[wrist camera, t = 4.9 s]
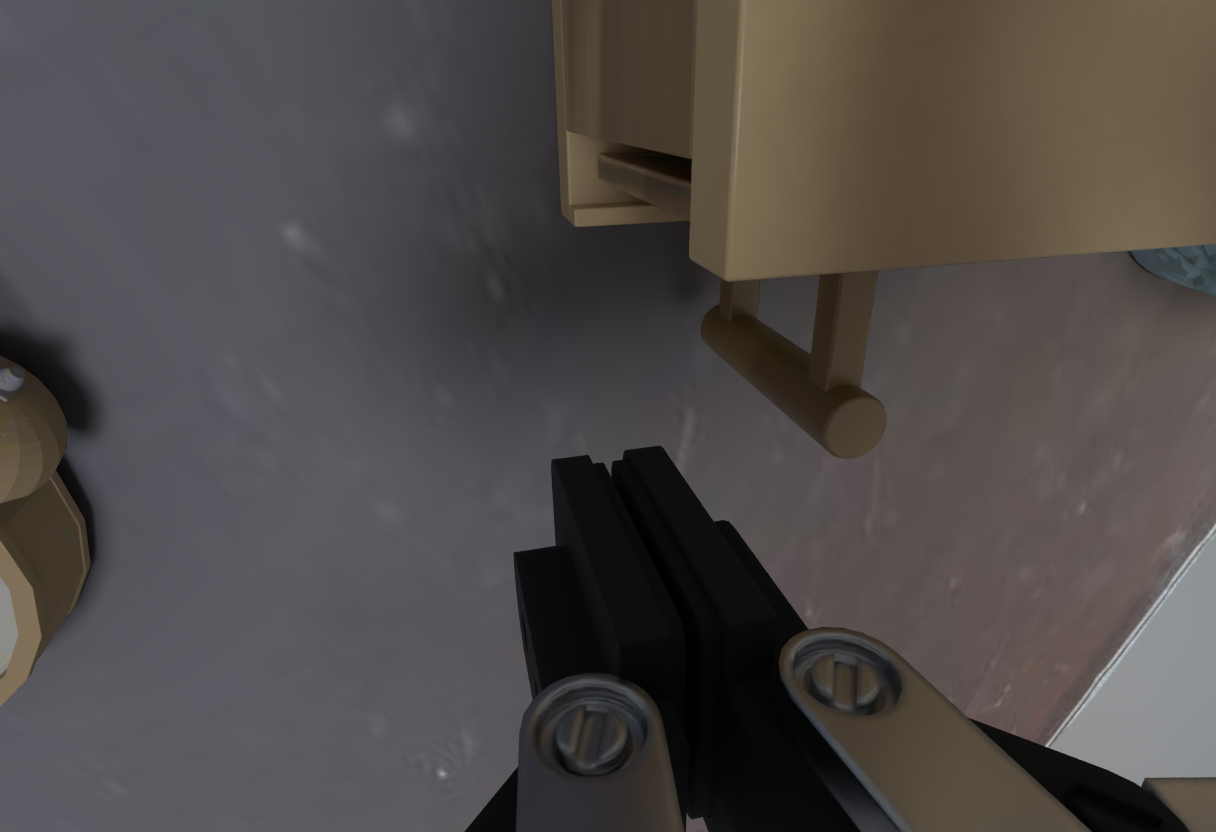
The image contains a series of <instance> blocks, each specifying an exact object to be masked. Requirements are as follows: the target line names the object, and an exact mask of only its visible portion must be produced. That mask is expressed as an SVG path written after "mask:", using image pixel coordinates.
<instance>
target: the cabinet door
mask: <svg viewBox="0 0 1216 832" xmlns="http://www.w3.org/2000/svg"><path fill="white" fill-rule="evenodd" d="M598 167H599V180H600V181H603V182H605V183H607V184H610V185H612V186H614V187H616V188H618V189H620V190H622V191H625V192H627V193H629V194H631V195H633V196H635V197H637V198H640V199H642V200H644V201H646V202H648V203H650V204H652V205H655V206H657V207H659V208H661V209H663V210H665V211H668V212H670V213H672V214H674V215H676V216H678V217H680V218H683V219H685V220H687V221H689V222H690V210H691V179H692V159H688V158H684V157H679V156H675V155H670V154H666V153H661V152H657V151H656V152H628V153H600V154H599V155H598ZM877 272H878V270H874V271H861V272H848V273H835V274H822V275H820V280H819V289H818V298H817V307H816V315H815V324H814V333H813V342H812V350H811V355H810V354H809V353H807V352H806V351H804V350H803V349H801V348H800V347H798V346H797V345H795V344H794V343H792V342H791V341H789V340H788V339H786V338H785V337H783V336H782V335H780V334H779V333H777V332H776V331H774V330H773V329H771V328H770V327H768V326H767V325H765V324H764V323H762V322H761V321H759V320H758V319H757V313H758V300H759V287H760V279H758V280H745V281H732V282H728V281H725V280H723V279H722V278H721V289H720V304H719V305H717V306H715V307H713V308H712V309H710V310H709V311H708V312H707V314H706V315H705V317H704V319H703V321H702V324H701V335H702V338H703V341H704V342H705V343H706V344H707V345H708V346H709V347H710V348H711V349H712V350H713V351H714V352H716V353H717V354H718V355H719V356H720V357H721V358H722V359H723V360H725V361H726V362H727V363H728V364H729V365H730V366H731V367H733V368H734V369H735V370H736V371H737V372H738V373H739V374H740V375H742V376H743V377H744V378H745V379H746V380H747V381H748V382H750V383H751V384H752V385H753V386H754V387H755V388H756V389H757V390H759V391H760V392H761V393H762V394H763V395H764V396H765V397H767V398H768V399H769V400H770V401H771V402H772V403H773V404H774V405H776V406H777V407H778V408H779V409H780V410H781V411H782V412H784V413H785V414H786V415H787V416H788V417H789V418H790V419H792V420H793V421H794V422H795V423H796V424H797V425H798V426H799V427H801V428H802V429H803V430H804V431H805V432H806V433H807V434H809V435H810V436H811V437H812V438H813V439H814V440H815V441H816V442H818V443H819V444H820V445H821V446H822V447H823V448H824V449H826V450H827V451H828V452H829V453H830V454H831V455H833V456H835V457H838V458H844V459H850V458H856V457H859V456H861V455H863V454H865V453H867V452H868V451H870V450H871V449H872V448H873V447H874V446H875V445H876V444H877V443H878V442H879V440H880V439H881V437H882V435H883V433H884V431H885V428H886V422H887V417H886V412H885V409H884V407H883V405H882V403H881V402H880V401H879V400H878V399H876V398H875V397H873V396H872V395H870V394H869V393H867V392H866V391H864V390H863V389H861V388H860V386H861V380H862V373H863V366H864V359H865V353H866V346H867V339H868V333H869V326H870V319H871V312H872V306H873V299H874V292H875V286H876V279H877Z"/></svg>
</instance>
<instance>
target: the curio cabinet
mask: <svg viewBox="0 0 1216 832" xmlns="http://www.w3.org/2000/svg"><path fill="white" fill-rule="evenodd" d="M552 22H553V44H554V67H555V89H556V111H557V134H558V156H559V179H560V201H561V214H562V215H563V216H564V217H565V218H566V219H567V220H569V221H570V223H571V224H573V225H574V226H575V227H589V226H606V225H623V224H641V223H658V222H675V221H687V220H685V219H683V218H680V217H678V216H676V215H674V214H672V213H670V212H668V211H665V210H663V209H661V208H659V207H657V206H655V205H652V204H650V203H648V202H646V201H644V200H642V199H640V198H637V197H635V196H633V195H631V194H629V193H627V192H625V191H622V190H620V189H618V188H616V187H614V186H612V185H610V184H607V183H605V182H603V181H600V180H599V167H598V155H599V154H600V153H628V152H656V151H657V152H661V153H666V154H670V155H675V156H679V157H684V158H688V159H692V179H691V210H690V241H689V257H690V259H691V260H692V261H694V262H695V263H697V264H699V265H700V266H702V267H704V268H705V269H707V270H709V271H710V272H712V273H714V274H715V275H717V276H718V277H720V278H722V279H723V280H725V281H728V282H732V281H745V280H758V279H770V278H783V277H796V276H809V275H822V274H835V273H848V272H861V271H874V270H887V269H900V268H913V267H926V266H938V265H951V264H964V263H977V262H990V261H1003V260H1016V259H1029V258H1042V257H1055V256H1068V255H1081V254H1093V253H1106V252H1119V251H1132V250H1145V249H1158V248H1171V247H1184V246H1197V245H1210V244H1216V0H552Z"/></svg>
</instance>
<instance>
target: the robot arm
mask: <svg viewBox="0 0 1216 832" xmlns="http://www.w3.org/2000/svg"><path fill="white" fill-rule="evenodd" d="M551 474H552V491H553V507H554V524H555V540H556V546H553V547H546V548H540V549H533V550H527V551H520V552H514V569H515V580H516V591H517V601H518V610H519V619H520V626H521V634H522V640H523V647H524V653H525V659H526V665H527V670H528V676H529V682H530V687H531V693H532V698H533V700H532V702H531V704H530V705H529V707H528V708H527V710H526V711H525V713H524V715H523V719H522V724H521V728H520V733H519V760H518V767H517V769H516V770H515V771H514V772H513V773H512V775H511V776H510V777H509V778H508V779H507V781H506V782H505V783H504V784H503V786H502V787H501V788H500V789H499V790H498V792H497V793H496V794H495V795H494V796H493V798H492V799H491V800H490V801H489V803H488V804H487V805H486V806H485V807H484V809H483V810H482V811H481V812H480V814H479V815H478V816H477V817H476V818H475V820H474V821H473V822H472V823H471V824H470V826H469V827H468V828H467V829H466V831H465V832H686V813H687V814H688V815H689V817H690V818H691V819H696V818H700V817H703V819H704V821H705V824H706V826H707V829H708V831H709V832H1216V777H1211V778H1210V777H1208V778H1145V779H1144V782H1143V784H1142V786H1141V787H1140V786H1138V785H1137V784H1135V783H1134V782H1131V781H1129V780H1127V779H1125V778H1123V777H1121V776H1119V775H1117V774H1115V773H1112V772H1110V771H1108V770H1106V769H1103V768H1100V767H1098V766H1095V765H1092V764H1090V763H1087V762H1085V761H1082V760H1079V759H1077V758H1074V757H1071V756H1068V755H1066V754H1063V753H1060V752H1058V751H1055V750H1053V749H1050V748H1047V747H1045V746H1042V745H1039V744H1037V743H1034V742H1031V741H1029V740H1026V739H1023V738H1021V737H1018V736H1015V735H1013V734H1010V733H1007V732H1005V731H1002V730H999V729H997V728H994V727H991V726H989V725H986V724H983V723H981V722H978V721H975V720H973V719H970V718H968V717H967V716H965V715H964V714H963V713H962V712H961V711H960V710H959V709H958V708H957V707H956V706H955V705H953V704H952V703H951V702H950V701H949V700H948V699H947V698H946V697H945V696H944V695H943V694H941V693H940V692H939V691H938V690H937V689H936V688H935V687H934V686H933V685H932V684H931V683H929V682H928V681H927V680H926V679H925V678H924V677H923V676H922V675H921V674H920V673H919V672H918V671H916V670H915V669H914V668H913V667H912V666H911V665H910V664H909V663H908V662H907V661H906V660H904V659H903V658H902V657H901V656H900V655H899V654H898V653H896V652H895V651H894V650H892V649H891V648H890V647H888V646H887V645H886V644H884V643H883V642H881V641H879V640H877V639H875V638H873V637H870V636H868V635H866V634H864V633H861V632H857V631H853V630H849V629H845V628H834V627H820V628H815V629H810V630H809V629H808V628H807V627H806V625H805V624H804V623H803V621H802V620H801V618H800V617H799V616H798V614H797V613H796V612H795V610H794V609H793V607H792V606H791V605H790V603H789V602H788V601H787V599H786V598H785V596H784V595H783V594H782V592H781V591H780V590H779V588H778V587H777V585H776V584H775V583H774V581H773V580H772V579H771V577H770V576H769V574H768V573H767V572H766V570H765V569H764V568H763V566H762V565H761V563H760V562H759V561H758V559H757V558H756V557H755V555H754V554H753V552H752V551H751V550H750V548H749V547H748V546H747V544H746V543H745V541H744V540H743V539H742V537H741V536H740V535H739V533H738V532H737V530H736V529H735V528H734V526H733V525H732V524H731V523H730V522H729V521H725V520H721V521H715V522H714V521H713V520H712V519H711V517H710V516H709V514H708V513H707V511H706V510H705V508H704V507H703V505H702V504H701V503H700V501H699V500H698V498H697V497H696V495H695V494H694V492H693V491H692V489H691V488H690V487H689V485H688V484H687V482H686V481H685V479H684V478H683V476H682V475H681V473H680V472H679V471H678V469H677V468H676V466H675V465H674V463H673V462H672V460H671V459H670V457H669V456H668V455H667V453H666V452H665V450H664V449H663V448H662V447H661V446H654V447H646V448H639V449H631V450H625V451H624V454H623V460H618V461H613V462H612V468H611V476H610V474H609V472H608V470H607V468H606V466H605V464H604V463H595V464H593V463H592V461H591V459H590V457H589V455H584V456H576V457H568V458H561V459H553V460H552V462H551ZM611 477H612V478H611Z"/></svg>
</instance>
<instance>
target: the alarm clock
mask: <svg viewBox="0 0 1216 832" xmlns="http://www.w3.org/2000/svg"><path fill="white" fill-rule="evenodd" d="M66 448H67V423H66V419H65V417H64V414H63V412H62V410H61V408H60V406H59V404H58V402H57V400H56V398H55V397H54V396H53V395H52V393H51V392H50V391H49V390H48V389H47V388H46V387H45V386H44V385H43V384H42V382H41V381H40V380H39V379H38V378H36V377H35V376H34V375H32V374H31V373H30V372H28V371H27V370H25V369H24V368H23V367H21V366H20V365H18V364H16V363H14V362H12V361H10V360H8V359H6V358H4V357H2V356H0V706H1V705H2V704H3V703H4V702H5V701H6V700H7V699H8V698H9V697H10V696H11V695H12V694H13V693H14V692H15V691H16V690H17V689H18V688H19V687H20V686H21V685H22V684H23V683H24V682H25V681H27V679H28V677H29V676H30V674H31V673H32V671H33V668H34V665H35V663H36V661H37V660H38V658H39V657H40V655H41V654H42V652H43V651H44V649H45V648H46V646H47V645H48V643H49V641H50V640H51V638H52V637H53V635H54V634H55V632H56V631H57V629H58V628H59V626H60V625H61V623H62V622H63V620H64V619H65V618H66V617H67V616H68V615H69V614H70V613H71V612H72V610H73V609H74V607H75V606H76V604H77V601H78V598H79V595H80V593H81V590H82V587H83V584H84V582H85V579H86V576H87V573H88V571H89V568H90V565H91V564H90V556H89V548H88V541H87V533H86V525H85V519H84V517H83V515H82V514H81V512H80V510H79V509H78V507H77V505H76V504H75V502H74V500H73V498H72V497H71V495H70V493H69V492H68V490H67V488H66V486H65V485H64V483H63V481H62V480H61V478H60V476H59V474H58V473H57V471H56V468H57V467H58V465H59V463H60V461H61V459H62V457H63V455H64V452H65V450H66Z"/></svg>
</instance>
